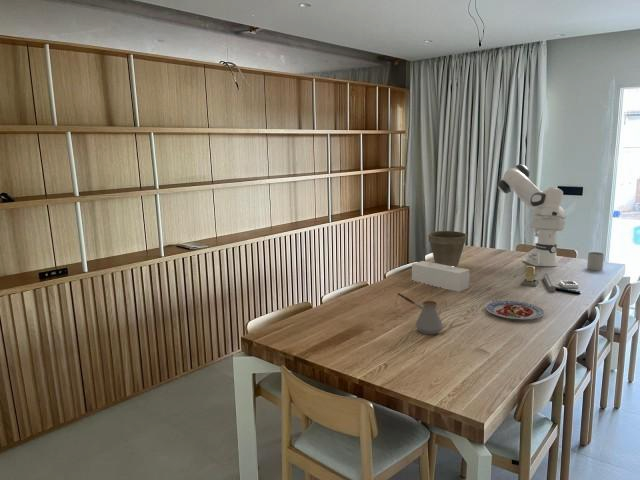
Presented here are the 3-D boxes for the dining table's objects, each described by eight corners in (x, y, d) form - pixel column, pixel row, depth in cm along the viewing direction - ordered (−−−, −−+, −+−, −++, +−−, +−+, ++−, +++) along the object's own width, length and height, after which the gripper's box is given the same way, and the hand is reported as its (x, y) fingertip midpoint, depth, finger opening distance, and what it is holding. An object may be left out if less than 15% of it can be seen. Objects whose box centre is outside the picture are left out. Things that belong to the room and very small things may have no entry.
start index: (559, 283, 267) (559, 280, 266) (573, 284, 265) (574, 281, 265) (563, 287, 260) (563, 284, 259) (578, 288, 258) (578, 284, 258)
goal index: (524, 281, 274) (524, 278, 273) (538, 283, 269) (538, 279, 269) (521, 284, 267) (521, 281, 267) (535, 286, 263) (536, 283, 263)
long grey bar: (543, 278, 278) (543, 273, 277) (548, 279, 277) (549, 273, 276) (549, 291, 254) (549, 285, 253) (555, 291, 253) (555, 285, 252)
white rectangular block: (411, 281, 282) (412, 263, 280) (422, 277, 288) (422, 260, 286) (458, 292, 258) (459, 273, 256) (469, 288, 265) (469, 269, 263)
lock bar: (526, 282, 271) (527, 265, 269) (534, 283, 269) (535, 266, 267) (525, 284, 268) (526, 266, 266) (532, 285, 266) (534, 267, 264)
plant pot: (465, 271, 300) (466, 237, 296) (426, 268, 308) (426, 236, 304) (466, 262, 324) (467, 231, 320) (430, 260, 332) (430, 230, 328)
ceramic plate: (496, 301, 240) (496, 296, 240) (550, 311, 224) (551, 305, 224) (477, 315, 221) (477, 309, 220) (535, 327, 205) (535, 321, 204)
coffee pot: (446, 329, 204) (447, 296, 202) (436, 338, 195) (437, 304, 192) (402, 320, 217) (402, 289, 214) (390, 328, 207) (390, 296, 205)
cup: (598, 267, 301) (599, 252, 299) (604, 270, 293) (606, 254, 291) (584, 267, 302) (586, 252, 300) (590, 270, 294) (592, 255, 292)
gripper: (531, 212, 280) (525, 234, 280) (561, 213, 262) (554, 236, 261) (538, 215, 283) (532, 237, 283) (568, 216, 265) (562, 240, 264)
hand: (543, 237), depth 272 cm, fingers open, 8 cm apart
